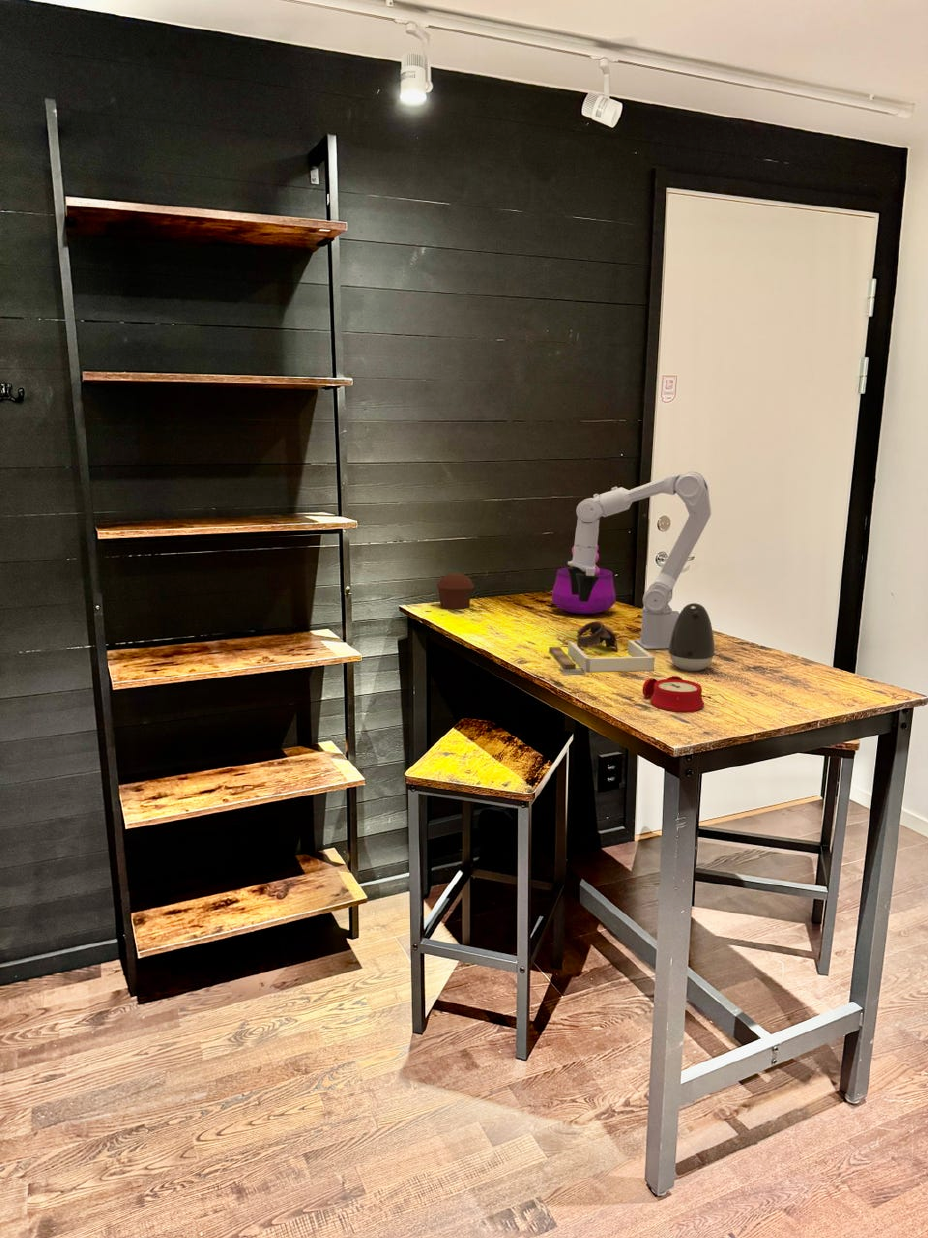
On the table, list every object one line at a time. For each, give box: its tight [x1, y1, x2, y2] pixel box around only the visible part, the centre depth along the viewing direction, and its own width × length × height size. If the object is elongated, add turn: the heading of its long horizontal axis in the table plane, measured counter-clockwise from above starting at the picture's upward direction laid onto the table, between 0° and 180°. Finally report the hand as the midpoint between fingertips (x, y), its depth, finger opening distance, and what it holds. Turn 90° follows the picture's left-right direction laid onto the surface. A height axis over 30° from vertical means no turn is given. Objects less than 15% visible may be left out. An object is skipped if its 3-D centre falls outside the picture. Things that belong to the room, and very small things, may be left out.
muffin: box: [436, 572, 475, 611], centre depth 258 cm, size 12×11×10 cm
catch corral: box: [567, 639, 656, 673], centre depth 200 cm, size 16×16×3 cm
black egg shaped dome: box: [668, 602, 716, 672], centre depth 194 cm, size 10×10×15 cm
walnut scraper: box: [548, 646, 587, 676], centre depth 199 cm, size 20×5×2 cm, turn 7°
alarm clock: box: [641, 675, 712, 714], centre depth 171 cm, size 10×6×15 cm
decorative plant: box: [551, 544, 616, 615], centre depth 250 cm, size 19×18×30 cm
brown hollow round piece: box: [576, 620, 619, 653], centre depth 211 cm, size 12×10×8 cm
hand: (579, 597), depth 220 cm, fingers open, 7 cm apart
